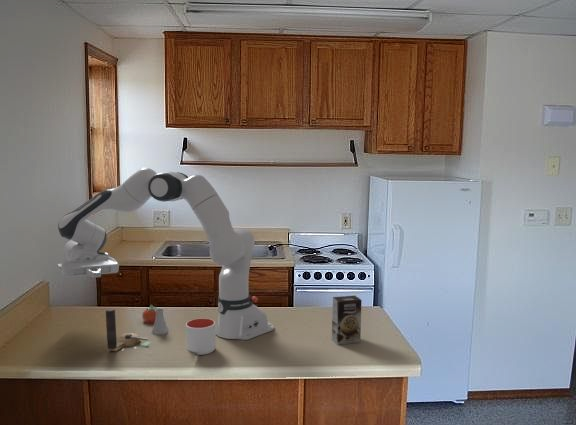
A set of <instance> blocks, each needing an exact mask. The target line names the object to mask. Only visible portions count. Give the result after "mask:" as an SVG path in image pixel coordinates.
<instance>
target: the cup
mask: <svg viewBox="0 0 576 425" xmlns="http://www.w3.org/2000/svg"><path fill="white" fill-rule="evenodd" d="M185 338H186V339H185V342H186V345H185V346H186V349H187V350H188V351H189V352H193V353H195V356H203V355H209V354H211V353H213V352H214V351H215V349H216V347H217V346H216V344H217V342H216V340H217V339H216V321H215V320H214V319H211V318H205V317H201V318H200V317H199V318H194V319H191V320H189V321H187V322H186V323H185Z"/></svg>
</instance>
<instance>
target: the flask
mask: <svg viewBox="0 0 576 425" xmlns="http://www.w3.org/2000/svg"><path fill="white" fill-rule="evenodd" d="M164 311H165V310H164V308H162V307H160V308H157V309H155V312H156V319H155V323H153V327H152V329H151V332H150V333H151V334H153V335H165V334H167V333H169V326H168V325H167V322H166V320H165V316H164Z"/></svg>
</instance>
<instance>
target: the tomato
mask: <svg viewBox="0 0 576 425" xmlns="http://www.w3.org/2000/svg"><path fill="white" fill-rule="evenodd" d="M155 309H158V308H157V307H156V306H153V304H150V305H149V307H146V309H144V310H143V312H142V315H141V316H142V320H143V322H144V323H147V324H154V323H155V319H156V312H155Z"/></svg>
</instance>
